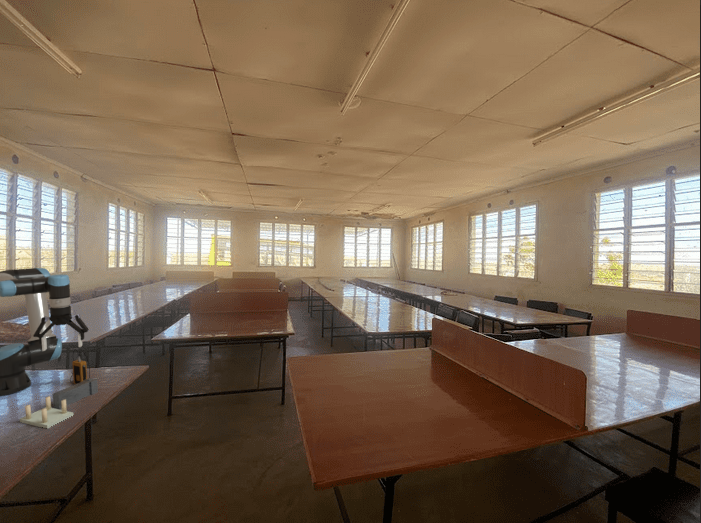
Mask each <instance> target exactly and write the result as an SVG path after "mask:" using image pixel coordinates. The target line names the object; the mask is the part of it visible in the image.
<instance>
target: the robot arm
mask: <svg viewBox="0 0 701 523" xmlns="http://www.w3.org/2000/svg"><path fill="white" fill-rule="evenodd" d="M70 285H71V282H70V277H69V275H68V274H62V273H61V274H52V275H51V273H50V272H49V270H48V269H47V268H45V267H34V268H33V267H32V268H30V267H29V268H17V269H15V268H14V269H6V270H1V271H0V297H2V298H6V297H7V298H11V297H16V296H24V300H25V305H26V311H27V319H28V325H29V333H30V338H28V340H27V344H23V343H21V342H17V343H11V344H7V345H4V346H1V347H0V397H2V396H9V395H12V394H16V393H19V392H21V391H24V390H27V389H28V388H30V387H31V385H32V381H31V378H30V376H29V375H28V373H27V372H26V367H30V366H33V365H38V364H43V363H48V362H51V361H53V360H57V359H59V358H60V356H61V354H62V351H63V350H62V349H63V343H62V339H61V338H60V337H57V334H54V333H53V331H52V330H53V329H52V328H53V327H54V326H65V325H67V326H68V327H71V328H72V329H73V330H75V331H76V332H77V333H78V334H77V340H78V341H77V342H78V348H82V346H83V340H84V339H85V334H86V333H87V332H88V331H90V330H89V327H88V326H87V325H86V323H85V322H84V321H83V319H82V318H81V316H80V315H81V314H79V313H77V314H74V315H73V314H72V306H71V305H72V300H71V290H70V289H71V288H70ZM47 293H48V298H49V301H48V298H47ZM48 302H49V304H48ZM49 307H50V308H49ZM72 319H74V320H75V321H76V322H77V323H78V324H76V323H75V322H74V321H73V320H72Z"/></svg>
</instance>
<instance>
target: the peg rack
mask: <svg viewBox="0 0 701 523" xmlns="http://www.w3.org/2000/svg"><path fill="white" fill-rule="evenodd" d="M61 405H62V408H61V409H56V408H53V407H52V402H51V396H46V397H45V407H43V408H41V409H39V410H37V411H34V412H32V408H31V404H26V405H25V406H24V408H25V410H24V411H25V416H23V417H21V418H19V423H21V422H22V424H26V425H31V426H35V427H37V428H38V427H39V428H42V427H43V428H42V429H46V428H47V430H48V429H50V428H52V427H54V426H55V424H56V425H58V424H60V423H61V421H62V422H64V421H66V420H68V419H70V418H72V417H73V415H74V412H72V411H68V410H67V409H68V408H67V407H68V406H66V399H65V400H62V401H61ZM71 416H72V417H71ZM69 417H70V418H69ZM67 418H68V419H67ZM65 419H66V420H65ZM63 420H64V421H63ZM59 422H60V423H59ZM57 423H58V424H57ZM53 425H54V426H53ZM51 426H52V427H51Z"/></svg>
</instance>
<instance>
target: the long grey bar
mask: <svg viewBox="0 0 701 523" xmlns="http://www.w3.org/2000/svg"><path fill="white" fill-rule="evenodd" d="M92 379H93V378H91V377H90V378H89V377H87V379H86V380H83V381H82V382H80V383H78V384H73V385H71V386H68V387H65V388H64V389H61V390H59V391H56V392H55V393H52V406H53V407H52V408H54V409H59V410H62V405H61V401H62V400H65V399H66V407H68V406H70V405H72V404H74V403H76V402H78V401H80V400H82V398H83V399H84V397H85V398H87V397H89V396H93V395H95V394H97V393H99V389H98V386H99V385H98V384H99V383H98V378H97V379H93V380H92ZM71 403H72V404H71ZM69 404H70V405H69ZM67 405H68V406H67Z"/></svg>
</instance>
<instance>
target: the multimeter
mask: <svg viewBox="0 0 701 523" xmlns="http://www.w3.org/2000/svg"><path fill="white" fill-rule="evenodd" d="M75 351H76V352H77V353H78V354H77V359H74V357H72V359H73V361H71V363H72V372H71V373H72V374H71V376H70V379H69V382H70V383H73V385H75V384H78V383H80V382H82V381H83V380H86V379H88V378H91V377H90V376H91V375H90V374H91V368H90V362H89V360H88V357H87V354H86V353H85V352H84V351H83V350H79V351H78V350H77V349H74V350H73V353H72V355H75ZM81 352H82V353H83V354H84V356H85V359H86V361H85V360H82V359H81V356H80V353H81ZM87 364H88V369H87ZM88 373H89V375H88ZM88 376H89V377H88ZM72 378H73V381H71V379H72ZM93 379H97V380H98V377H94V378H92V380H93Z"/></svg>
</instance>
